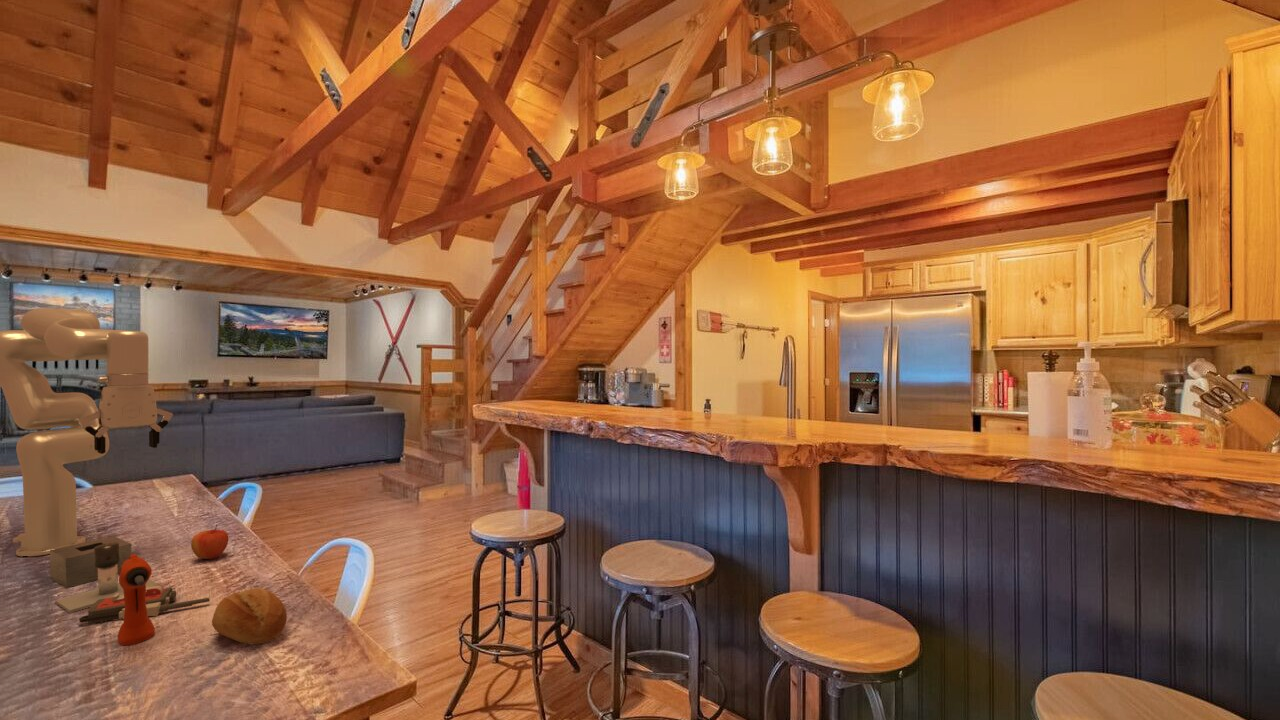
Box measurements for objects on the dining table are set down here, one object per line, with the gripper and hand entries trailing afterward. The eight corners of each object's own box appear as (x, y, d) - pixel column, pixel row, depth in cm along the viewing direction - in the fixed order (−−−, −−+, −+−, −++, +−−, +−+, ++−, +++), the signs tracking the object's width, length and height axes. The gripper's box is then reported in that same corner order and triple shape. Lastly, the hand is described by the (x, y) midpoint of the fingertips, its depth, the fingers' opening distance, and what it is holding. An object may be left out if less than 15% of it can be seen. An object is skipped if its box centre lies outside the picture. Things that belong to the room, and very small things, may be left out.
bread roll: (243, 659, 91) (242, 612, 91) (197, 639, 98) (196, 595, 98) (301, 633, 100) (300, 589, 100) (254, 616, 107) (254, 575, 107)
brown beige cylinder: (90, 596, 115) (88, 549, 114) (107, 588, 118) (105, 542, 118) (109, 595, 115) (107, 548, 115) (125, 587, 119) (124, 542, 118)
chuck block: (50, 578, 126) (49, 550, 126) (114, 562, 135) (113, 536, 135) (66, 588, 120) (65, 558, 120) (131, 570, 130) (131, 543, 130)
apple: (184, 561, 135) (184, 529, 135) (217, 551, 142) (216, 520, 142) (203, 565, 132) (202, 532, 132) (235, 555, 139) (234, 523, 139)
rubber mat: (55, 603, 113) (55, 600, 113) (142, 578, 125) (142, 576, 125) (69, 613, 108) (69, 610, 108) (159, 586, 120) (159, 584, 120)
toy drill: (123, 665, 87) (120, 569, 88) (116, 638, 100) (113, 555, 101) (163, 652, 91) (160, 560, 92) (152, 628, 104) (149, 548, 105)
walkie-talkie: (73, 633, 101) (208, 608, 111) (72, 609, 101) (208, 586, 110) (93, 613, 109) (218, 592, 118) (93, 591, 109) (217, 571, 118)
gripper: (83, 383, 125) (83, 457, 126) (177, 380, 140) (177, 446, 140) (74, 381, 129) (74, 453, 130) (166, 378, 144) (166, 443, 144)
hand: (128, 449), depth 135 cm, fingers open, 9 cm apart
